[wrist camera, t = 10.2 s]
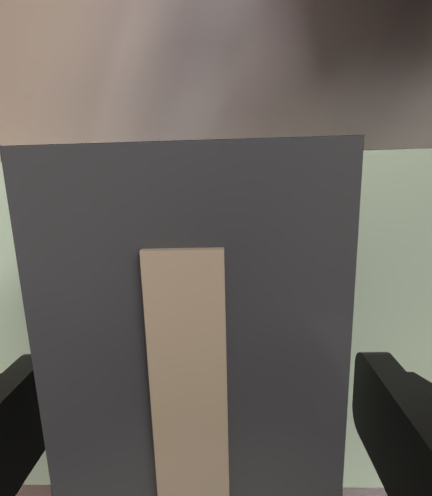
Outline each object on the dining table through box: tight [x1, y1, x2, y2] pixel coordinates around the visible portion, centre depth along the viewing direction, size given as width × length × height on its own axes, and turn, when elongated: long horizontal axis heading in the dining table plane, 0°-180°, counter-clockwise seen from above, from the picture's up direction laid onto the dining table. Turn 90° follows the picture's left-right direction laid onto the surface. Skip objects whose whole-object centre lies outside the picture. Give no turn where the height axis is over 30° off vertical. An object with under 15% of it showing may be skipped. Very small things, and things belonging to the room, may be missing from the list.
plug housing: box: [0, 135, 364, 496], centre depth 9 cm, size 5×12×6 cm, turn 1°
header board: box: [0, 148, 432, 488], centre depth 11 cm, size 16×12×4 cm
